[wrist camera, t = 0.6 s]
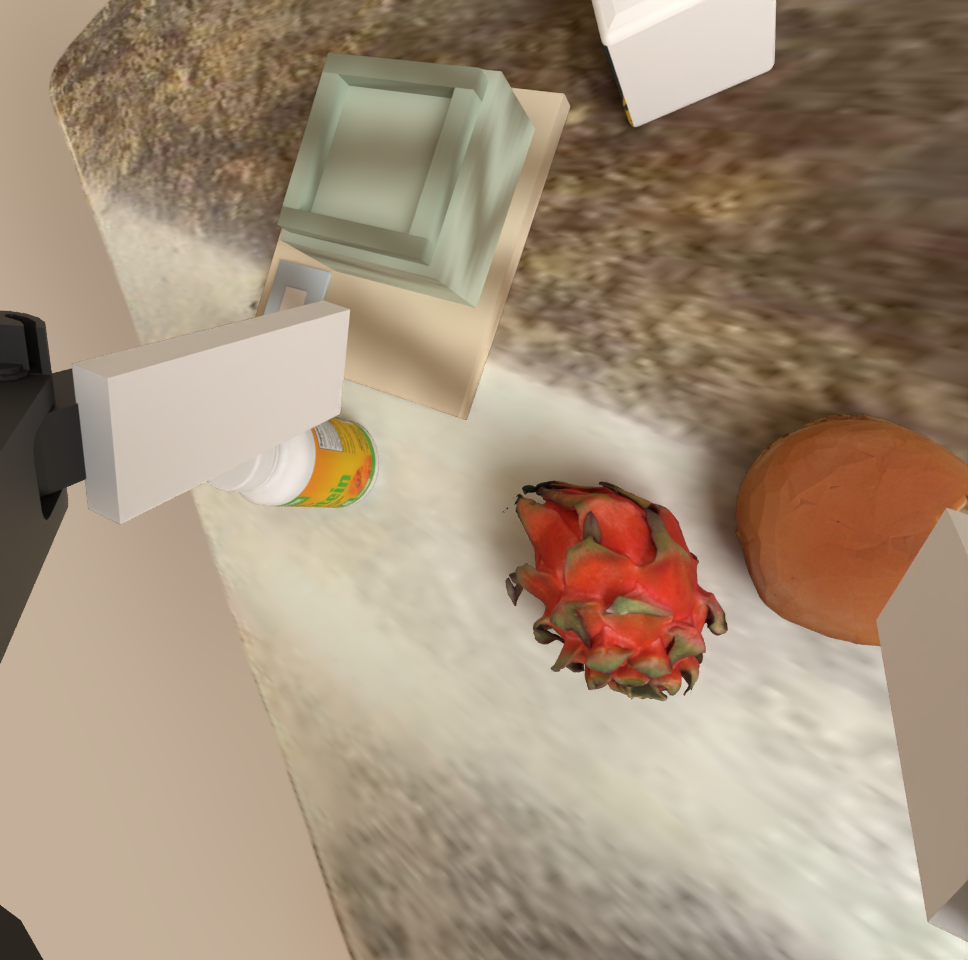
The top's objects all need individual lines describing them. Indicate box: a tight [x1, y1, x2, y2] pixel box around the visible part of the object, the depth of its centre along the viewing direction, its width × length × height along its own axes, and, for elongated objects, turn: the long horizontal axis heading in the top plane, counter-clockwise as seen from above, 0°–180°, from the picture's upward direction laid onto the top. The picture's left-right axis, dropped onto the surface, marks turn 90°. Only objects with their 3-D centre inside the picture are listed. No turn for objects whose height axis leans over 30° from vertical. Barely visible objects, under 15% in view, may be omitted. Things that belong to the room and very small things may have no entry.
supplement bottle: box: [207, 417, 379, 508], centre depth 36 cm, size 5×5×10 cm
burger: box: [736, 414, 968, 646], centre depth 28 cm, size 10×9×5 cm
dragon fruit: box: [503, 481, 728, 701], centre depth 31 cm, size 8×8×12 cm
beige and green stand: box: [255, 53, 570, 420], centre depth 37 cm, size 18×16×7 cm
